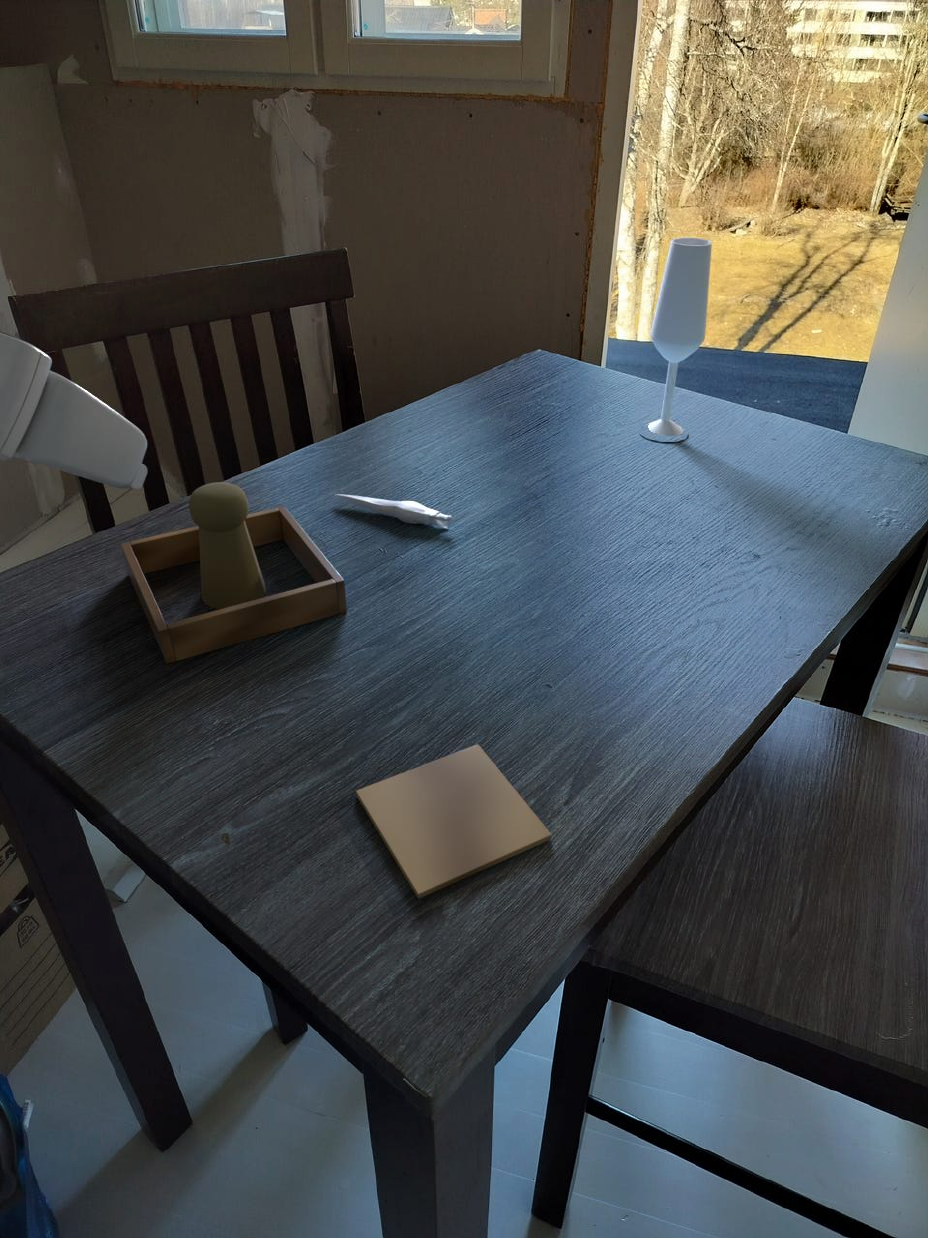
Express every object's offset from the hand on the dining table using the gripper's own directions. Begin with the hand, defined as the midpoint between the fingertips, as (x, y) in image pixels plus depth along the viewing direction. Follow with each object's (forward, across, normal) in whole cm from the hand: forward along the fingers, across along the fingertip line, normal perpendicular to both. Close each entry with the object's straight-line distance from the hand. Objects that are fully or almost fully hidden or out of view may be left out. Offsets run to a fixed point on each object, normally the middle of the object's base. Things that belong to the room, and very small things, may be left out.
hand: (89, 464), depth 61 cm
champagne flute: (+64, +23, +36) cm, 77 cm away
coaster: (+12, +31, -15) cm, 36 cm away
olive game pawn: (+22, -1, -5) cm, 23 cm away
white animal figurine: (+37, +4, +10) cm, 39 cm away
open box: (+22, -1, -4) cm, 23 cm away
